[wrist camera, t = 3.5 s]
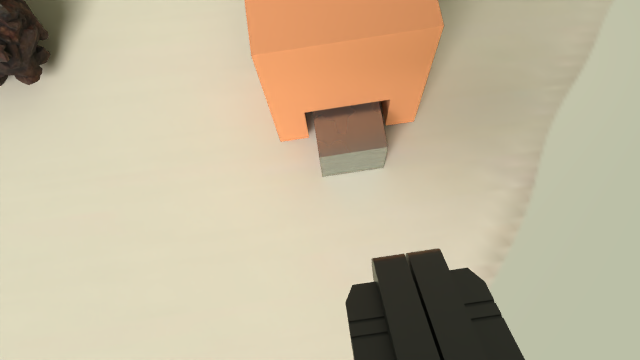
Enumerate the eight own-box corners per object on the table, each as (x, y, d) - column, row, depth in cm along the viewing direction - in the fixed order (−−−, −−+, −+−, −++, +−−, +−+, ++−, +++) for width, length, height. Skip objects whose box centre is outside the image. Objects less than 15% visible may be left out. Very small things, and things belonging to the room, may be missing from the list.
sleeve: (413, 121, 27) (443, 25, 18) (280, 141, 27) (251, 55, 18) (398, 49, 28) (420, -72, 20) (271, 68, 28) (239, -44, 20)
